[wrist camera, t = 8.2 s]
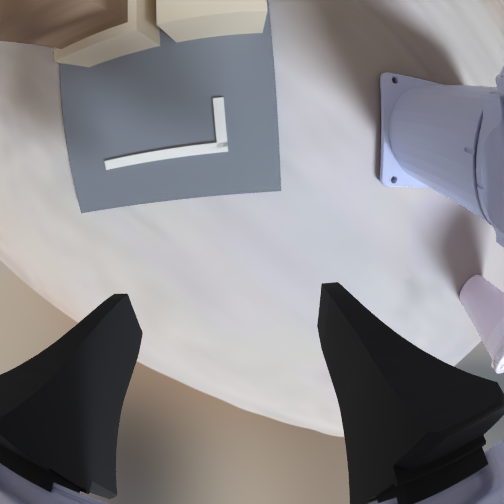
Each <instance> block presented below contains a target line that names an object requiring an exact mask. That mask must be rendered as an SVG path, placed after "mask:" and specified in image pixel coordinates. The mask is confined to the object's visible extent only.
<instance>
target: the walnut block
mask: <svg viewBox="0 0 504 504" xmlns="http://www.w3.org/2000/svg"><path fill="white" fill-rule="evenodd" d="M127 22H128V0H0V41H10V42H19V43H27V44H35V45H41V46H47V47H53V48H58V49H63V48H65V47H67V46H69V45H71V44H73V43H75V42H77V41H80V40H82V39H84V38H87V37H89V36H91V35H94V34H96V33H99V32H101V31H104V30H107V29H109V28H112V27H115V26H118V25H121V24H124V23H127Z"/></svg>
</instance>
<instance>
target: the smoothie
mask: <svg viewBox="0 0 504 504" xmlns="http://www.w3.org/2000/svg"><path fill="white" fill-rule="evenodd" d="M459 300H460V302H461V303H462V305H463V307H464V308H465V310H466V312H467V313H468V315H469V317H470V319H471V320H472V322H473V324H474V326H475V328H476V329H477V331H478V333H479V335H480V337H481V339H482V341H483V343H484V345H485V347H486V349H487V351H488V353H489V354H490V357H491V359H492V364H491V366H492V367H493V368H494V370H495V371H496V372H497V373H503V372H504V293H503V292H502V291H501V290H499V289H498V288H497V287H495V286H494V285H493V284H491V283H490V282H489V281H487V280H486V279H485V278H483V277H482V276H481V275H474V276H472V277H471V278H470V279H469V280H468V281H467V282H466V283H465V284H464V286H463V287H462V289H461V291H460V295H459Z"/></svg>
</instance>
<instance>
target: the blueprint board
mask: <svg viewBox="0 0 504 504" xmlns="http://www.w3.org/2000/svg"><path fill="white" fill-rule="evenodd" d="M54 62H56V63H60V88H61V101H62V112H63V121H64V129H65V136H66V143H67V149H68V155H69V161H70V166H71V171H72V176H73V181H74V185H75V190H76V194H77V198H78V202H79V206H80V210H81V213H85V212H91V211H97V210H103V209H110V208H116V207H123V206H130V205H137V204H145V203H153V202H161V201H169V200H178V199H187V198H196V197H207V196H217V195H229V194H242V193H255V192H271V191H281V177H280V154H279V134H278V116H277V100H276V86H275V72H274V59H273V47H272V35H271V24H270V14H269V4H268V0H128V22H127V23H124V24H121V25H118V26H115V27H112V28H109V29H107V30H104V31H101V32H99V33H96V34H94V35H91V36H89V37H87V38H84V39H82V40H80V41H77V42H75V43H73V44H71V45H69V46H67V47H65V48H63V49H58V48H54Z"/></svg>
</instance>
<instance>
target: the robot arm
mask: <svg viewBox="0 0 504 504" xmlns="http://www.w3.org/2000/svg"><path fill="white" fill-rule="evenodd" d="M393 77H394V78H395V80H396V83H395V84H394V83H393V82H392V78H393ZM496 84H497V88H496V87H484V86H466V85H442V84H438V83H435V82H431V81H427V80H423V79H419V78H414V77H410V76H405V75H400V74H395V73H390V72H385V73H382V74H381V76H380V89H381V162H380V182H381V184H383V185H384V186H387V187H426V188H432V189H434V190H436V191H438V192H439V193H441V194H443V195H445V196H446V197H448V198H450V199H451V200H453V201H455V202H456V203H458V204H460V205H461V206H463V207H464V208H466V209H468V210H469V211H471V212H472V213H474V214H475V215H477V216H479V217H480V218H482V219H483V220H484V221H486V222H487V223H489V224H490V225H492V226H493V227H494V229H495V232H496V239H497V242H498V243H499V244H500V245H501V246H503V247H504V66H503V68H502V70H501V72H500V74H499V75H497V77H496ZM393 176H394V177H395V179H394V181H393V182H391V178H392V177H393ZM317 326H318V332H319V337H320V342H321V347H322V351H323V354H324V358H325V361H326V364H327V367H328V370H329V373H330V376H331V379H332V383H333V386H334V389H335V392H336V395H337V399H338V403H339V407H340V412H341V417H342V423H343V429H344V436H345V443H346V451H347V461H348V471H349V488H350V504H504V439H503V440H502V441H501V442H499V443H498V444H496V445H495V446H493V447H492V448H490V449H489V450H488V451H486V452H485V453H484V451H483V449H482V446H484V445H485V444H486V440H485V438H484V436H483V435H484V433H486V432H487V431H488V430H489V429H490V428H491V427H492V426H493V425H494V424H495V423H496V422H497V421H498V420H499V419H500V418H501V417H502V416H503V415H504V393H503V392H502V390H501V388H500V386H499V385H498V383H497V382H494V381H491V380H488V379H485V378H481V377H479V376H475V375H472V374H470V373H467V372H465V371H462V370H460V369H458V368H456V367H453V366H451V365H449V364H447V363H445V362H443V361H441V360H439V359H437V358H435V357H433V356H432V355H430V354H428V353H426V352H424V351H423V350H421V349H419V348H418V347H416V346H415V345H413V344H412V343H410V342H409V341H407V340H406V339H404V338H403V337H401V336H400V335H399V334H397V333H396V332H394V331H393V330H392V329H391V328H389V327H388V326H387V325H386V324H384V323H383V322H382V321H381V320H379V319H378V318H377V317H376V316H375V315H373V314H372V313H371V312H370V311H369V310H368V309H367V308H365V307H364V306H363V305H362V304H361V303H360V302H359V301H358V300H357V299H356V298H354V297H353V296H352V295H351V294H350V293H349V292H348V291H347V290H346V289H345V288H344V287H343V286H342V285H340V284H339V283H338V282H336V283H325V284H322V286H321V297H320V307H319V316H318V325H317ZM141 339H142V330H141V328H140V325H139V323H138V320H137V318H136V315H135V313H134V310H133V307H132V305H131V302H130V299H129V296H128V294H114V295H112V296H111V297H109V298H108V299H107V300H105V301H104V302H103V303H102V304H100V305H99V306H98V307H97V308H96V309H95V310H93V311H92V312H91V313H90V314H89V315H87V316H86V317H85V318H84V319H83V320H82V321H80V322H79V323H78V324H77V325H76V326H75V327H73V328H72V329H71V330H70V331H68V332H67V333H66V334H65V335H63V336H62V337H61V338H60V339H59V340H57V341H56V342H55V343H53V344H52V345H51V346H49V347H48V348H46V349H45V350H44V351H42V352H41V353H39V354H38V355H36V356H35V357H33V358H31V359H29V360H28V361H26V362H24V363H23V364H21V365H19V366H18V367H16V368H14V369H12V370H10V371H8V372H6V373H3V374H1V375H0V504H109V503H106V502H103V501H99V500H97V499H93V498H91V497H88V496H85V495H83V494H80V493H79V492H80V491H82V492H84V493H87V494H89V493H93V494H96V495H99V496H102V497H105V498H109V499H111V498H114V497H115V496H116V495H117V488H116V445H117V436H118V427H119V421H120V414H121V409H122V405H123V401H124V398H125V395H126V391H127V388H128V385H129V382H130V379H131V376H132V373H133V370H134V367H135V364H136V361H137V358H138V354H139V349H140V344H141Z"/></svg>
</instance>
